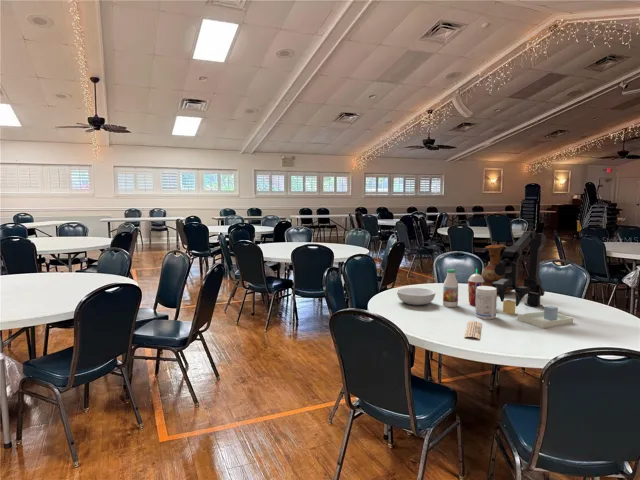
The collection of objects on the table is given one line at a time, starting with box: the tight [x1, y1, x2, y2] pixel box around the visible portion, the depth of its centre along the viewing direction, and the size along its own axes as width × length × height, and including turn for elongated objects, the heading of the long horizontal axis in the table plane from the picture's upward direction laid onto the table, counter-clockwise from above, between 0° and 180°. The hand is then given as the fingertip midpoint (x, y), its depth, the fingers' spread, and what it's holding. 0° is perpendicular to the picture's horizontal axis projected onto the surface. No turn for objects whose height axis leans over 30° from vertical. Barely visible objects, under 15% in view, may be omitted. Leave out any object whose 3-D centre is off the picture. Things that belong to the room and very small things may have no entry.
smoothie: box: [467, 268, 484, 307], centre depth 224 cm, size 8×8×20 cm
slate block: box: [543, 305, 559, 321], centre depth 195 cm, size 4×4×6 cm
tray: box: [516, 310, 574, 329], centre depth 194 cm, size 20×14×2 cm
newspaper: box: [464, 320, 482, 341], centre depth 180 cm, size 24×7×2 cm, turn 157°
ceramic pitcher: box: [480, 244, 513, 294], centre depth 254 cm, size 20×20×30 cm
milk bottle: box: [442, 268, 459, 308], centre depth 222 cm, size 8×8×20 cm
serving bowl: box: [396, 287, 436, 306], centre depth 228 cm, size 21×21×7 cm
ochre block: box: [502, 299, 516, 315], centre depth 209 cm, size 4×4×6 cm
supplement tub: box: [474, 286, 498, 320], centre depth 201 cm, size 10×10×15 cm
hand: (509, 303), depth 209 cm, fingers open, 9 cm apart
